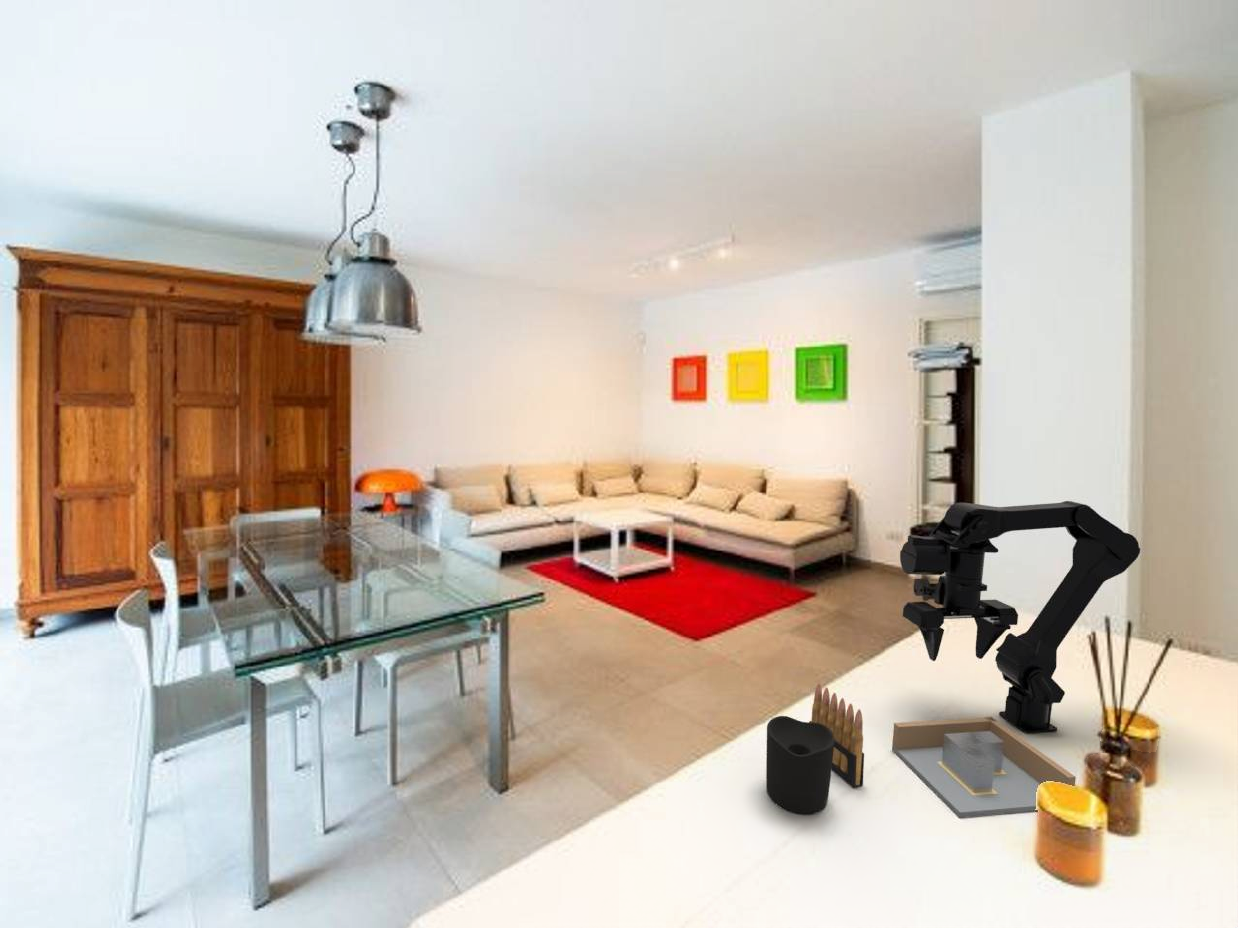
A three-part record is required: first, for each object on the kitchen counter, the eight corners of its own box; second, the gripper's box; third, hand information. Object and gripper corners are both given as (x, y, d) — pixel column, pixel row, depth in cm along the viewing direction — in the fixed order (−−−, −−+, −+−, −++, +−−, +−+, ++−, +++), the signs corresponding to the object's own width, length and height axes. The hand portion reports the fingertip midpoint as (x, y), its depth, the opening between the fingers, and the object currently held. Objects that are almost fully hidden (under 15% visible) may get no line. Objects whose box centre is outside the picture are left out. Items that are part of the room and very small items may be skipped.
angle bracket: (1022, 788, 88) (1025, 757, 88) (973, 792, 87) (976, 760, 87) (986, 760, 95) (989, 730, 95) (941, 763, 94) (944, 733, 94)
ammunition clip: (863, 785, 90) (869, 711, 88) (853, 788, 89) (859, 713, 88) (815, 746, 99) (819, 678, 98) (806, 748, 99) (810, 680, 97)
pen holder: (795, 826, 81) (799, 758, 80) (750, 785, 89) (753, 723, 88) (844, 805, 85) (849, 740, 84) (797, 768, 93) (800, 709, 92)
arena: (988, 743, 101) (991, 716, 101) (1072, 807, 86) (1075, 776, 85) (891, 749, 99) (894, 722, 98) (959, 817, 83) (962, 785, 83)
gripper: (977, 561, 114) (970, 638, 116) (888, 563, 111) (882, 642, 113) (1024, 579, 103) (1015, 664, 105) (926, 581, 100) (919, 669, 102)
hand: (955, 658), depth 107 cm, fingers open, 9 cm apart
